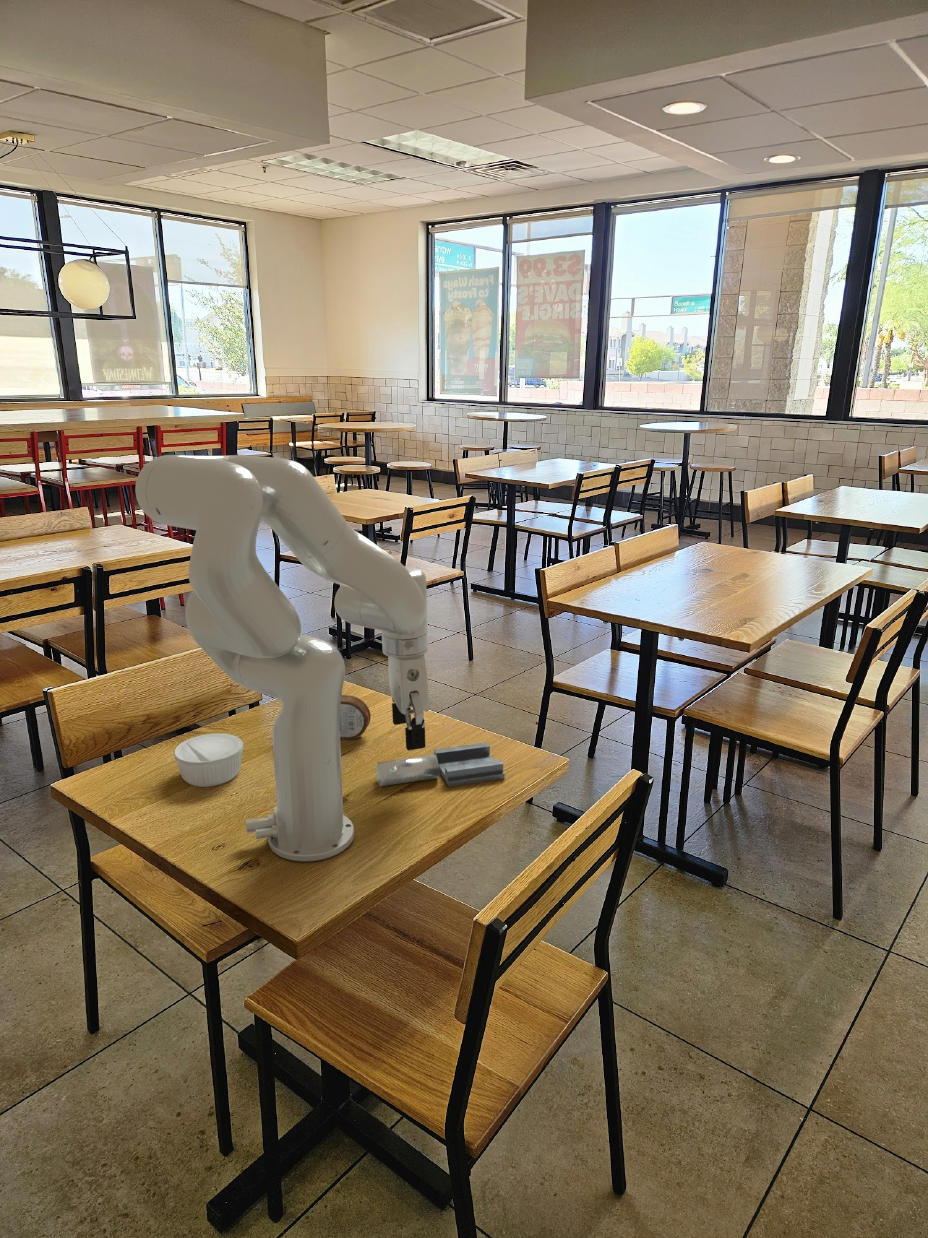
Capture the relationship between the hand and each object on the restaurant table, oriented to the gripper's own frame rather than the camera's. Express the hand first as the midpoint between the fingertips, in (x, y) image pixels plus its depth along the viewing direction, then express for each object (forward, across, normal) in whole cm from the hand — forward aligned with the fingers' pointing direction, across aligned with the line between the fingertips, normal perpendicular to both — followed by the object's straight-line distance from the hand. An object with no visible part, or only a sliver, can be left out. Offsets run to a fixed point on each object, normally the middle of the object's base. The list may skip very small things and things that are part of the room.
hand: (408, 735), depth 138 cm
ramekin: (+7, +9, +33) cm, 35 cm away
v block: (+7, -2, -10) cm, 13 cm away
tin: (+8, +18, +11) cm, 23 cm away
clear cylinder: (+7, -1, +1) cm, 7 cm away
